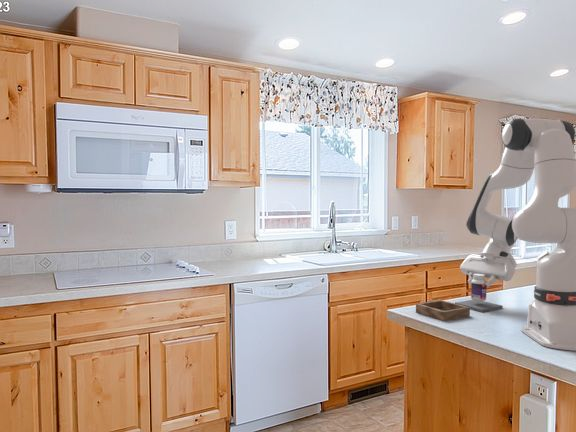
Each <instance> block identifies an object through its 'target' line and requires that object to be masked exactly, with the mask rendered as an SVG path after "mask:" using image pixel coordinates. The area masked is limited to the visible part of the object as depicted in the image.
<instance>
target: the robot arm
mask: <svg viewBox="0 0 576 432" xmlns="http://www.w3.org/2000/svg"><path fill="white" fill-rule="evenodd" d="M575 138H576V130H575V127H574V125H573V124H572V123H570V122H569V121H566V120H561V119H558V120H555V119H545V118H540V117H539V118H535V117H533V118H515V119H510V120H508V121H507V122H506V123H505V124H504V126H503V129H502V131H501V141H502V143H503V146H504V150H503V153H502V156H501V161H500V164H499V167H498V168H497V169H496V170H495V171H494V172H491V173H489V175H488V176H487V177H486V179H485V181H484V182H483V185H482V187H481V189H480V192H479V194H478V196H477V199H476V201H475V203H474V205H473V208H472V210H471V211H470V213H469V216H468V217H467V219H466V228H467V230H468V232H469V233H471V234H473V235H476V236H483V237H485V238H489V239H488V242H487V244H485V246H484V247H483V250H482V251H481V252H480V254H473V253H472V254H470V255H467V256H466V258H464V260H463V262H462V263H461V264H460V266H459V270H460V271H461V273H462V275H463V274H464V275H468V280H467V282H468V283H467V284H470V285H471V281H472V280H473V279H474V278H473V274H484V275H485V278H487V279H488V280H485V283H484V285H485V287H486V288H489V287H490V286H491V285H492V284H493V283H495V282H496V281H497V280H498V281H505V282H509V281H511V280H512V279H513V277H514V275H515V273H516V272H515V271H516V268H517V265H518V264H517V261H516V259H515V257H514V256H513V255H512V253H510V251H511V250H512V248H513V246H514V245H515V243H516V242H517V240H520V241H524V242H528V243H532V244H533V243H534V244H556V247H555V249H554V250H553V251H552V252H553V253H551V252H550V253H551V254H550V255H547V256H545V257H543V258H541V259H540V260H539V262H538V263H537V262H536V263H537V264H536V273H535V275H536V276H535V278H536V281H535V282H536V283H535V286H534V290H533V298H534V300H533V301H532V302H531V303H529V304H528V309H527V320H526V321H527V322H526V326H523V327H521V329H520V330H521V332H522V333H523V334H525V335H526V336H528V337H529V338H531V339H533V340H534V341H535V342H536V343H538V344H539V345H541V346H543V347H545V348H546V347H547V348H551V349H557V350H566V351H572V352H573V351H574V352H575V351H576V207H559V201H560V199H562V198H563V197H565V196H567V195H569V194H571V193H573V191H574V190H575V189H576V154H575V148H574V144H573V143H574V141H575ZM533 172H534V187H533V188H534V189H533V192H532V196H531V198H530V199H529V201H528V202H527V203H526V205H525V206H523V207H522V208H521V209H520V210H518V211H517V212H516V213H515V215H513V218H510V217H507V216H504V215H500V214H496V213H492V212H489V211H487V207H488V205H489V203H490V201H491V199H492V196H493V194H494V192H496V191H499V190H509V189H515V188H519V187H522V186H524V185H526V184H527V183H528V182H529V181H530V180H531V178H532V175H533Z"/></svg>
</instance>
